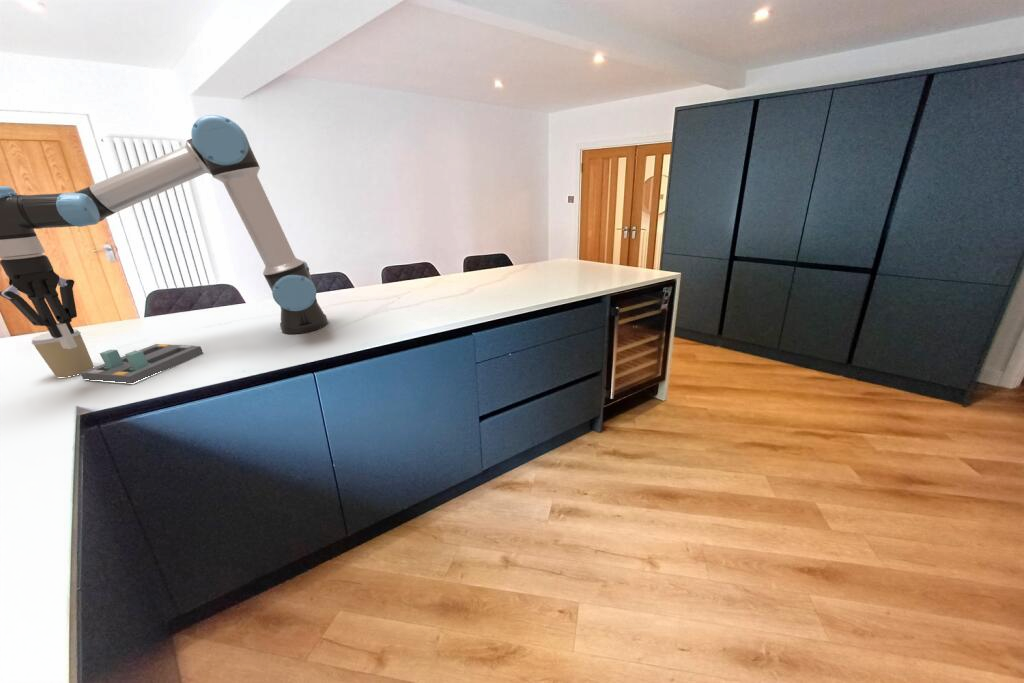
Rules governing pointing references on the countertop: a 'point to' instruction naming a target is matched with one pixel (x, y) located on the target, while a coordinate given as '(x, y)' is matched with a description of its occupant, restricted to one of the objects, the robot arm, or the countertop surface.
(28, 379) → the countertop surface
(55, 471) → the countertop surface
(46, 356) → the coffee cup
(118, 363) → the tab
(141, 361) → the tab
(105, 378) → the switch board
